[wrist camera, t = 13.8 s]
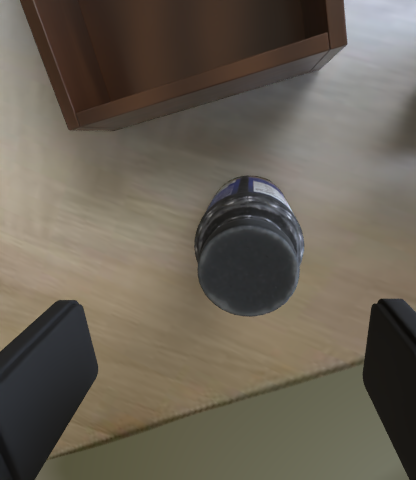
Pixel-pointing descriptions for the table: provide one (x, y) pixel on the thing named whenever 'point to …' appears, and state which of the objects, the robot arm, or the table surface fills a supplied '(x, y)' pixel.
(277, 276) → the pill bottle
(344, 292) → the table surface
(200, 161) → the table surface
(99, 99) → the box
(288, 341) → the table surface
